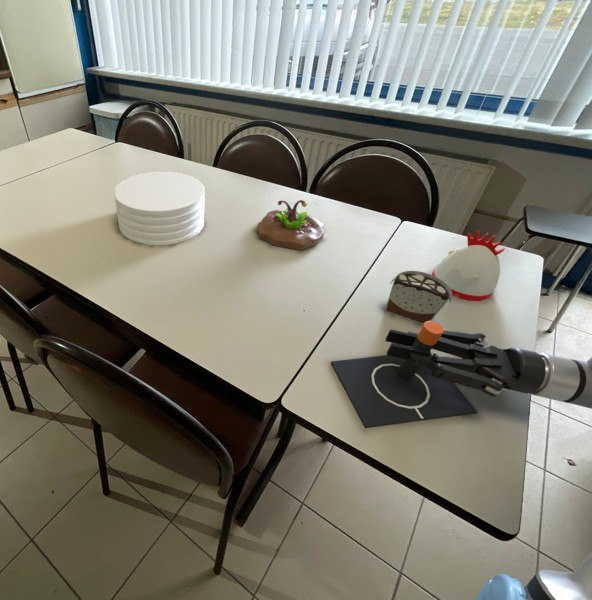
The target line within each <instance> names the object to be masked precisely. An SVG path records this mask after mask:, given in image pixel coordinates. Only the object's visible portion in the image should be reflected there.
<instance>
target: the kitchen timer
mask: <svg viewBox="0 0 592 600" xmlns="http://www.w3.org/2000/svg"><path fill="white" fill-rule="evenodd" d="M488 236H489V232H487V233H486V234H484V236H483V237H481V238H479V237H480V229H479V230H477V231H476V233H475V234H474V236H472V234H471V232H468V233H467V239H466V240H467V244H465V245H462V246H459V247H457V248H456V249H453V250H450V251H448V253H447V255H446V256H444V257H443V259H441V261H439V263H438V264H437V265H436V266H435V268H434V269H433V270H432V272H431V275H433V276H435V277H437V278H439V279H441V280H442V281H444V282H445V283H446V284H447V285H448V286H449V287H450V289H451V291H452V297H454V298H456V299H460V300H464V301H468V302H469V301H470V302H480V301H485V300H487V299H489V298H490V297H491V296H492V294H493V293H494V292H495V290H496V288H497V285H498V283H499V279H500V275H501V263H500V259H499V254H501V253H503V252H504V251H505V249H506V248H505V247H504V248H501V249H499V250H496V248H497V247H498V246H500V245H501V243H502V241H498V242H496V243H494V241H495V239H496V236H497V234H494V235H493V236H492V237H490V239H488V241H487V238H488Z"/></svg>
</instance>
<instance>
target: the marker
mask: <svg viewBox="0 0 592 600" xmlns="http://www.w3.org/2000/svg"><path fill="white" fill-rule="evenodd" d="M444 330H445V328H444V327H443V326H442V324H440V323H439V322H437V321H433V320H432V321H427V322H425V323H424V324H423V325H421V328H420V329H419V331H418V335H417V337H416V339H415V341H414V342H413V344H412V346H411V347H414V348H418V349H423V350H427V351H432V350H433V349H432V348H433V346H434V345H435V344H436V343H437V341H438V340H439V338H440V337H441V335H442V334H443V332H444ZM420 366H421V365H419V364H415V363H411V362H409V361H408V360H406V359H403V361H402V363H401V364H400V366H399V368H398V373H399V374H400V375H401V376H402V377H404V378H408V379H410V378H413V377H414V375H415V374H416V372H417V371H418V369H419V368H420Z"/></svg>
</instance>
